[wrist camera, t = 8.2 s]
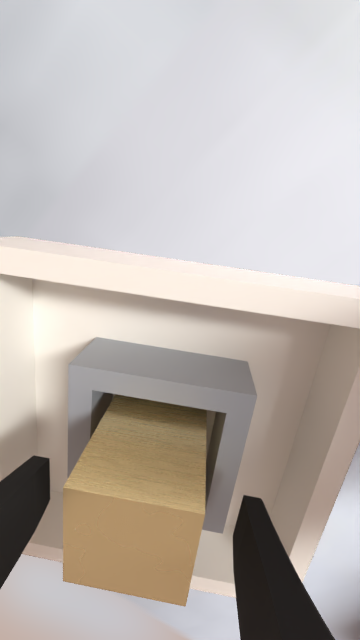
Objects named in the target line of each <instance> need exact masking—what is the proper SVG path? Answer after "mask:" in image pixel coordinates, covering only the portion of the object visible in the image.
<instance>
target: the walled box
mask: <svg viewBox="0 0 360 640" xmlns="http://www.w3.org/2000/svg"><path fill="white" fill-rule="evenodd" d="M115 394H118V395H123V396H129V397H135V398H141V399H147V400H152V401H158V402H164V403H170V404H176V405H182V406H187V407H193V408H199V409H205V410H207V431H206V495H205V518H204V522H203V527H202V532H201V536H200V541H199V546H198V550H197V555H196V560H195V564H194V569H193V574H192V578H191V583H190V589H195V590H200V591H205V592H210V593H214V594H219V595H224V596H229V597H234V598H236V592H235V582H234V572H233V532H234V529H235V525H236V521H237V517H238V514H239V510H240V506H241V503H242V499H243V495H247V496H252V497H257V498H261V499H262V501H263V502H264V505H265V507H266V509H267V512H268V514H269V516H270V519H271V521H272V523H273V525H274V527H275V530H276V532H277V534H278V536H279V538H280V540H281V542H282V544H283V546H284V549H285V551H286V553H287V555H288V557H289V558H290V560H291V562H292V564H293V566H294V568H295V570H296V572H297V574H298V576H299V578H300V580H301V582H303V580H304V577H305V575H306V572H307V570H308V567H309V565H310V563H311V560H312V558H313V555H314V553H315V550H316V548H317V545H318V543H319V540H320V538H321V535H322V533H323V531H324V528H325V526H326V523H327V521H328V518H329V516H330V513H331V511H332V508H333V506H334V503H335V501H336V498H337V496H338V494H339V491H340V489H341V486H342V484H343V481H344V479H345V476H346V474H347V471H348V469H349V466H350V464H351V462H352V459H353V457H354V454H355V452H356V449H357V447H358V444H359V442H360V286H357V285H350V284H343V283H336V282H329V281H322V280H316V279H309V278H302V277H295V276H288V275H281V274H274V273H267V272H260V271H254V270H247V269H240V268H233V267H226V266H219V265H212V264H205V263H198V262H192V261H185V260H178V259H171V258H164V257H157V256H150V255H143V254H136V253H130V252H123V251H116V250H109V249H102V248H95V247H88V246H81V245H75V244H68V243H61V242H54V241H47V240H40V239H33V238H26V237H19V236H14V237H0V481H1V480H3V479H4V478H5V477H6V476H8V475H9V474H10V473H12V472H13V471H14V470H15V469H17V468H18V467H19V466H20V465H22V464H23V463H24V462H26V461H27V460H28V459H29V458H31V457H32V456H34V455H35V456H40V457H45V458H50V501H49V503H48V505H47V508H46V510H45V512H44V514H43V516H42V518H41V520H40V522H39V524H38V526H37V528H36V530H35V532H34V534H33V536H32V537H31V539H30V541H29V542H28V544H27V546H26V547H25V549H24V551H23V552H22V554H25V555H29V556H34V557H39V558H44V559H49V560H54V561H58V562H63V487H64V485H65V483H66V481H67V479H68V478H69V476H70V474H71V472H72V471H73V469H74V467H75V465H76V464H77V462H78V460H79V458H80V456H81V455H82V453H83V451H84V449H85V448H86V446H87V444H88V442H89V440H90V439H91V437H92V435H93V433H94V432H95V430H96V428H97V426H98V424H99V423H100V421H101V419H102V417H103V416H104V414H105V412H106V410H107V409H108V407H109V405H110V403H111V401H112V400H113V398H114V396H115Z"/></svg>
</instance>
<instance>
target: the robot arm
mask: <svg viewBox="0 0 360 640" xmlns="http://www.w3.org/2000/svg"><path fill="white" fill-rule="evenodd" d="M49 501H50V458H45V457H40V456H35V455H34V456H32V457H31V458H29V459H28V460H27V461H26V462H24V463H23V464H22V465H20V466H19V467H18V468H17V469H15V470H14V471H13V472H12V473H10V474H9V475H8V476H6V477H5V478H4V479H3V480H1V481H0V588H1V587H2V585H3V584H4V582H5V580H6V579H7V577H8V575H9V574H10V572H11V571H12V569H13V567H14V565H15V564H16V562H17V561H18V559H19V557H20V556H21V554H22V552H23V551H24V549H25V547H26V546H27V544H28V542H29V541H30V539H31V537H32V536H33V534H34V532H35V530H36V528H37V526H38V524H39V522H40V520H41V518H42V516H43V514H44V512H45V510H46V508H47V505H48V503H49ZM233 572H234V582H235V592H236V601H237V610H238V619H239V629H240V638H241V640H335V639H334V637H333V636H332V634H331V632H330V631H329V629H328V627H327V626H326V624H325V622H324V621H323V619H322V617H321V615H320V614H319V612H318V610H317V609H316V607H315V605H314V603H313V601H312V600H311V598H310V596H309V594H308V593H307V591H306V589H305V587H304V585H303V583H302V582H301V580H300V578H299V576H298V574H297V572H296V570H295V568H294V566H293V564H292V562H291V560H290V558H289V557H288V555H287V553H286V551H285V549H284V546H283V544H282V542H281V540H280V538H279V536H278V534H277V532H276V530H275V527H274V525H273V523H272V521H271V519H270V516H269V514H268V512H267V509H266V507H265V505H264V502H263V501H262V499H261V498H257V497H252V496H247V495H243V499H242V503H241V506H240V510H239V514H238V517H237V521H236V525H235V529H234V532H233Z"/></svg>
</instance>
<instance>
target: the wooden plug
mask: <svg viewBox="0 0 360 640" xmlns="http://www.w3.org/2000/svg"><path fill="white" fill-rule="evenodd" d="M206 431H207V410H205V409H199V408H193V407H187V406H182V405H176V404H170V403H164V402H158V401H152V400H147V399H141V398H135V397H129V396H123V395H118V394H115V396H114V398H113V400H112V401H111V403H110V405H109V407H108V409H107V410H106V412H105V414H104V416H103V417H102V419H101V421H100V423H99V424H98V426H97V428H96V430H95V432H94V433H93V435H92V437H91V439H90V440H89V442H88V444H87V446H86V448H85V449H84V451H83V453H82V455H81V456H80V458H79V460H78V462H77V464H76V465H75V467H74V469H73V471H72V472H71V474H70V476H69V478H68V479H67V481H66V483H65V485H64V487H63V581H65V582H70V583H75V584H79V585H84V586H89V587H94V588H99V589H104V590H108V591H113V592H118V593H123V594H128V595H133V596H137V597H142V598H147V599H152V600H157V601H162V602H166V603H171V604H176V605H181V606H186V602H187V597H188V592H189V588H190V583H191V578H192V574H193V569H194V564H195V560H196V555H197V550H198V546H199V541H200V536H201V532H202V527H203V522H204V518H205V495H206Z"/></svg>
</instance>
